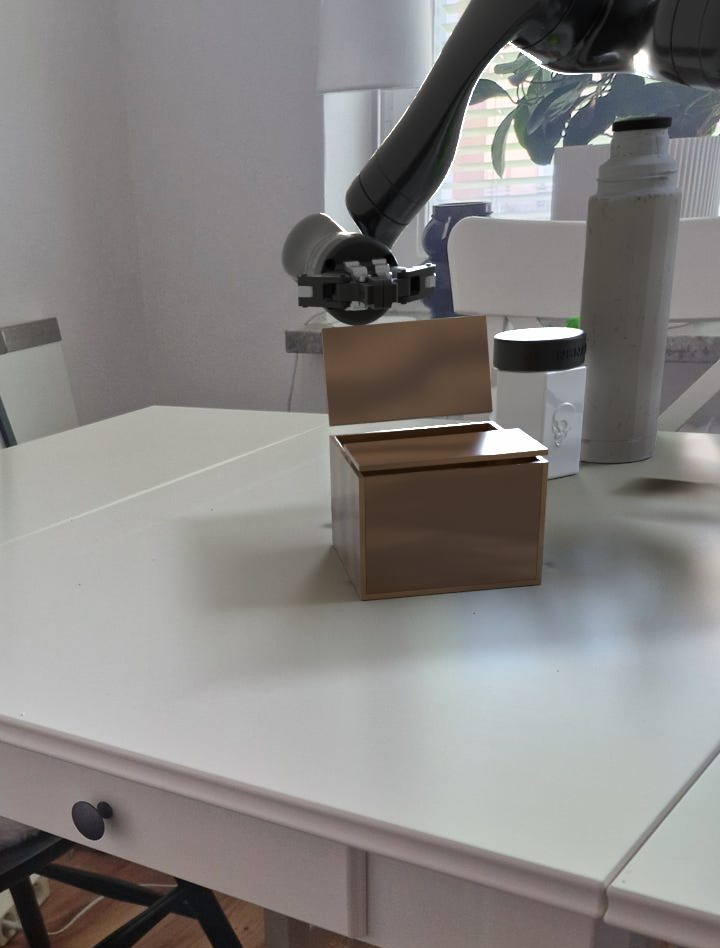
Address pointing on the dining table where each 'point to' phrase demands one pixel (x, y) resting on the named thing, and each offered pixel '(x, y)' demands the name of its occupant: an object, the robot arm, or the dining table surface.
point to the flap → (407, 370)
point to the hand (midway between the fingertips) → (383, 294)
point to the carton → (438, 509)
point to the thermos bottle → (628, 291)
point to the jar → (542, 390)
